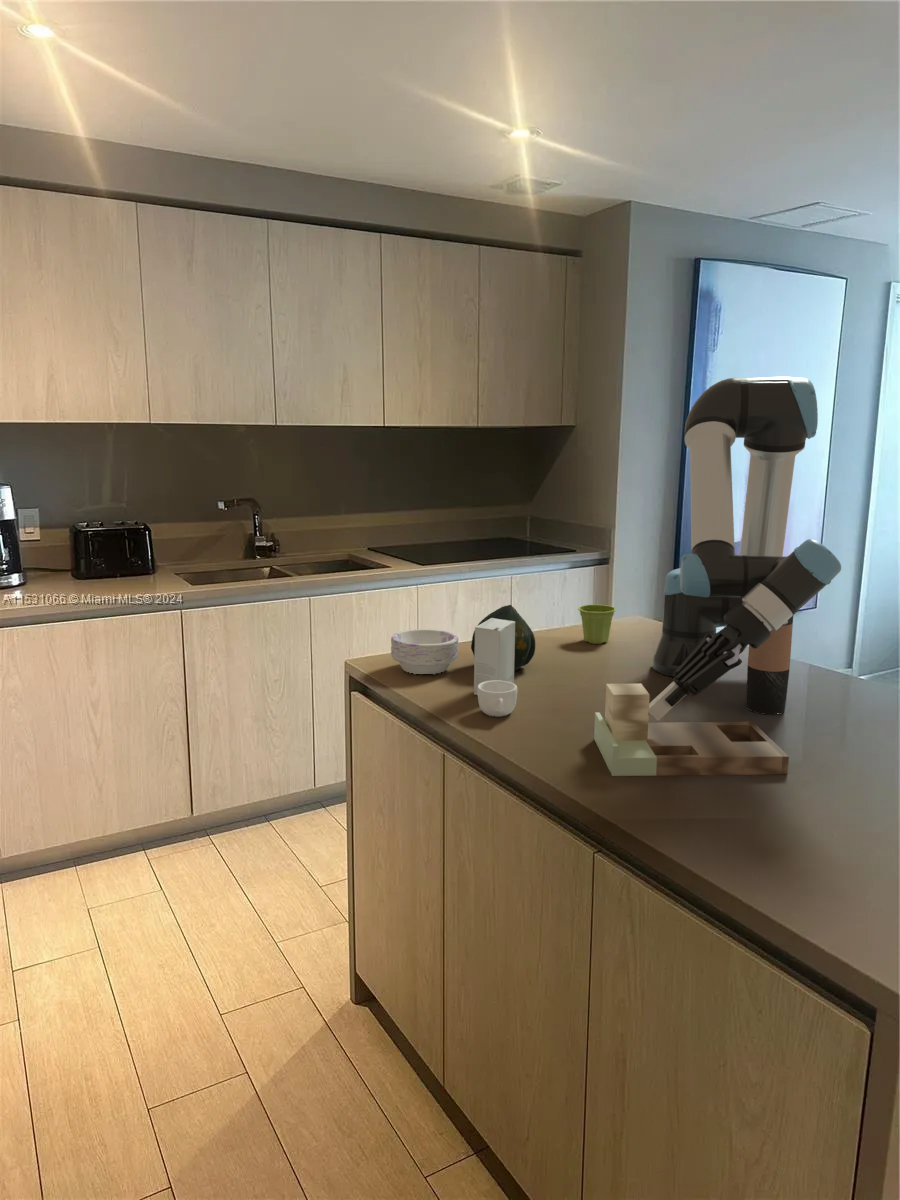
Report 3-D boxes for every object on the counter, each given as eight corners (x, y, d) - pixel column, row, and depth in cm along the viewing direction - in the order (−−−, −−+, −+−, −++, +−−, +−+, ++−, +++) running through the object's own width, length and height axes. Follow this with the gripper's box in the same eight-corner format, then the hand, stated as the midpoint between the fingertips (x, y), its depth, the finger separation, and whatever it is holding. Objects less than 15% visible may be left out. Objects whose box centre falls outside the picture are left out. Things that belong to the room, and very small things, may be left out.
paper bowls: (472, 669, 195) (472, 635, 193) (423, 684, 185) (423, 648, 183) (426, 656, 206) (425, 624, 204) (377, 670, 195) (376, 636, 193)
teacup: (475, 707, 170) (475, 680, 168) (513, 705, 170) (514, 679, 169) (480, 724, 160) (481, 696, 159) (521, 723, 160) (522, 695, 159)
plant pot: (576, 645, 216) (577, 611, 214) (577, 636, 225) (578, 603, 223) (614, 646, 214) (616, 612, 212) (614, 637, 223) (615, 604, 221)
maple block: (639, 727, 149) (641, 683, 147) (647, 740, 143) (649, 694, 142) (604, 727, 149) (606, 683, 147) (611, 740, 143) (613, 694, 142)
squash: (469, 656, 186) (512, 602, 186) (452, 641, 200) (493, 592, 201) (515, 694, 190) (558, 642, 190) (496, 677, 204) (536, 629, 205)
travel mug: (787, 705, 169) (795, 606, 165) (784, 717, 163) (792, 614, 159) (747, 700, 173) (753, 603, 169) (742, 711, 166) (749, 610, 162)
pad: (633, 738, 152) (634, 712, 151) (656, 775, 136) (657, 745, 135) (594, 739, 152) (595, 712, 151) (612, 775, 136) (613, 746, 135)
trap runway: (751, 737, 152) (752, 721, 152) (787, 774, 137) (788, 756, 136) (633, 738, 152) (634, 722, 151) (656, 775, 136) (656, 757, 136)
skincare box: (489, 684, 184) (490, 617, 181) (515, 688, 181) (516, 620, 178) (472, 695, 176) (472, 625, 173) (499, 700, 174) (500, 628, 171)
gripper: (786, 642, 136) (676, 743, 140) (756, 623, 149) (656, 715, 152) (755, 610, 135) (645, 712, 138) (728, 594, 148) (628, 687, 151)
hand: (651, 714), depth 145 cm, fingers closed
